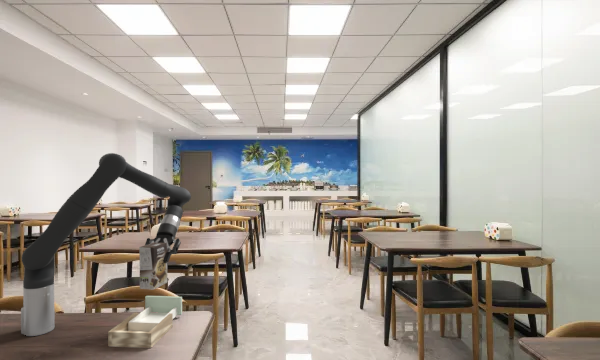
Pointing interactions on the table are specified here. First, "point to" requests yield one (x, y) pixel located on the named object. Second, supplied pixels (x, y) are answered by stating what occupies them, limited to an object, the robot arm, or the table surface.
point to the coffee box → (153, 265)
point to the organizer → (138, 334)
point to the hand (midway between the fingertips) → (156, 262)
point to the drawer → (155, 304)
